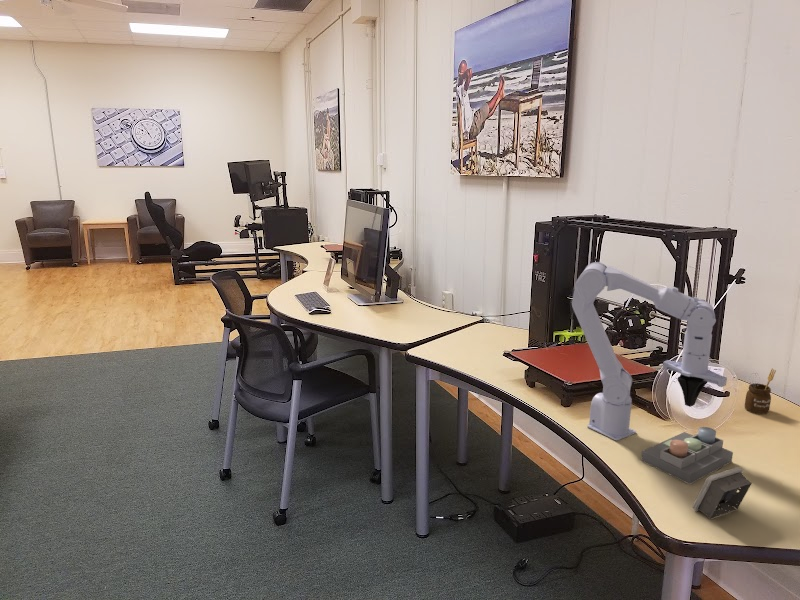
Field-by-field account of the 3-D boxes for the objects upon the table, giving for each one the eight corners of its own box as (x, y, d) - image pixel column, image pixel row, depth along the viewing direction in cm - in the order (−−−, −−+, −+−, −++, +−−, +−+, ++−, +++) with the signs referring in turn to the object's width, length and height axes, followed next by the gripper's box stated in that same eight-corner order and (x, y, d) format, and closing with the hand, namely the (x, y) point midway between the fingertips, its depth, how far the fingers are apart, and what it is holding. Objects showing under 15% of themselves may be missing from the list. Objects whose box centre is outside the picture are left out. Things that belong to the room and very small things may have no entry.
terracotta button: (665, 452, 133) (667, 442, 132) (675, 447, 134) (676, 438, 134) (680, 458, 130) (681, 449, 129) (690, 454, 132) (691, 444, 131)
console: (641, 460, 137) (643, 443, 136) (683, 441, 146) (685, 424, 145) (689, 484, 128) (691, 465, 126) (731, 461, 136) (734, 444, 135)
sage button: (679, 449, 136) (681, 440, 135) (689, 445, 138) (690, 436, 137) (694, 456, 133) (696, 446, 132) (703, 452, 135) (705, 442, 134)
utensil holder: (739, 406, 165) (745, 366, 162) (760, 405, 166) (766, 365, 163) (752, 415, 160) (759, 374, 157) (775, 414, 160) (781, 373, 157)
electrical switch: (723, 499, 122) (733, 461, 119) (745, 514, 118) (756, 475, 115) (690, 510, 119) (699, 471, 116) (712, 527, 114) (722, 487, 111)
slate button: (694, 438, 138) (695, 429, 138) (703, 434, 140) (704, 425, 140) (709, 444, 136) (710, 435, 135) (718, 440, 137) (719, 431, 137)
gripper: (658, 347, 142) (652, 399, 146) (718, 364, 131) (711, 420, 134) (674, 341, 146) (668, 392, 150) (734, 357, 135) (726, 411, 138)
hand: (689, 404), depth 142 cm, fingers closed
